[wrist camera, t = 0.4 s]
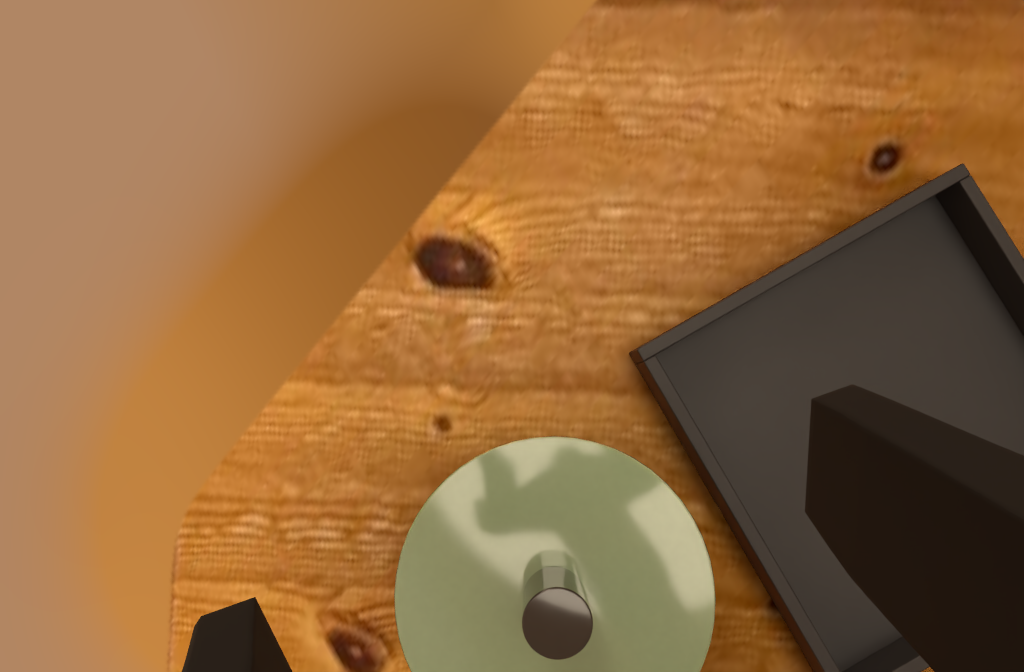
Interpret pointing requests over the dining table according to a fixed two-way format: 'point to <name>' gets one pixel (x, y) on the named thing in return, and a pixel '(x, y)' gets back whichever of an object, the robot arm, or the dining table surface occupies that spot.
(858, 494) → the robot arm
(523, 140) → the dining table surface
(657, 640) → the lid
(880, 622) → the tray
